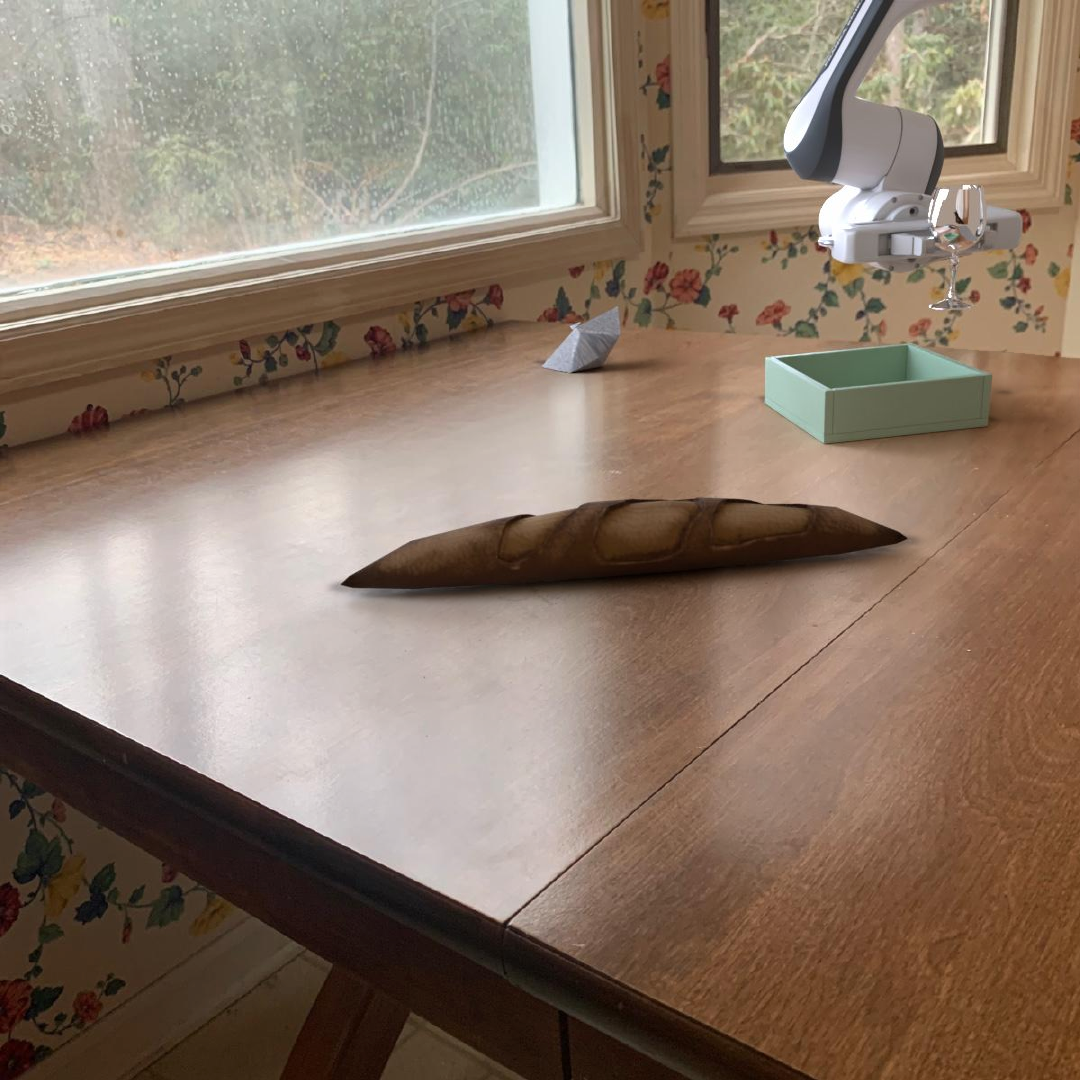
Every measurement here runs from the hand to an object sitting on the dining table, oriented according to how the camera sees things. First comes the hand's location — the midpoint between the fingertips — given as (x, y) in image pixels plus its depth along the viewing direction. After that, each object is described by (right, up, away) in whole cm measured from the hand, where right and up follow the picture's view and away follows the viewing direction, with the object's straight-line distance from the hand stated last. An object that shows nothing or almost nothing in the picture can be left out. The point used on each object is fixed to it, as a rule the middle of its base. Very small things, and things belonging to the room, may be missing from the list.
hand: (960, 243), depth 112 cm
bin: (-11, -18, -7) cm, 23 cm away
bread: (-37, -33, -39) cm, 63 cm away
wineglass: (0, -6, +3) cm, 7 cm away
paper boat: (-37, -9, +22) cm, 44 cm away
